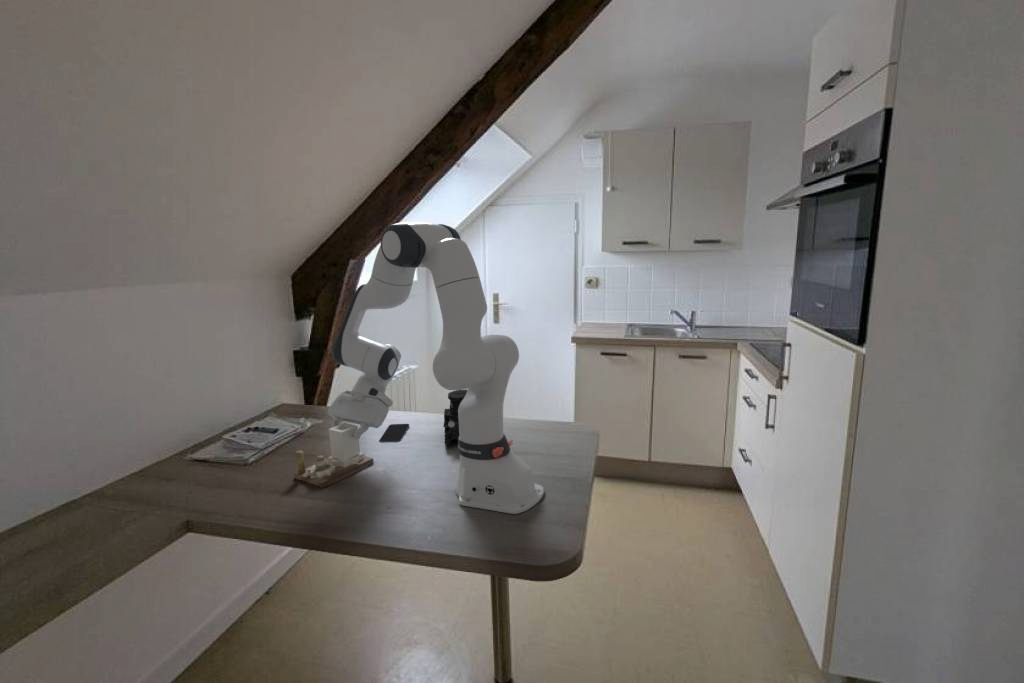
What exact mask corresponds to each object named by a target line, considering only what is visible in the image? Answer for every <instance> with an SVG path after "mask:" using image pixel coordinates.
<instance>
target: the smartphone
mask: <svg viewBox="0 0 1024 683" xmlns="http://www.w3.org/2000/svg"><path fill="white" fill-rule="evenodd" d="M409 426H410V423H396V424H395V423H391V424H389V425H388V426H387V428H386V430H385V431H384V432H383V434H382V435H381V437H380V439H379V441H378V442H379V443H399V442H401V441H402V440H403V438H404V437H405V435H406V433H407V432H408V430H409V428H410V427H409ZM406 431H407V432H406ZM404 434H405V435H404ZM403 436H404V437H403ZM401 439H402V440H401ZM398 441H399V442H398Z"/></svg>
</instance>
